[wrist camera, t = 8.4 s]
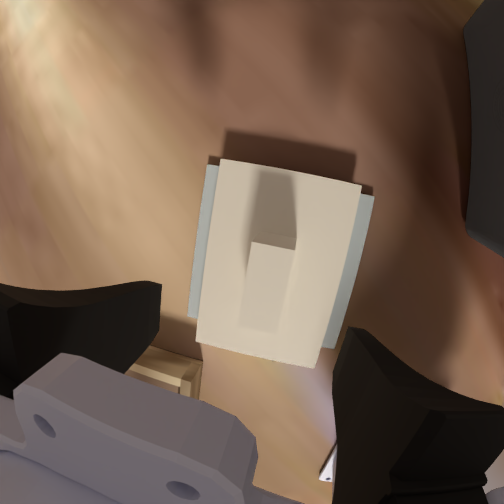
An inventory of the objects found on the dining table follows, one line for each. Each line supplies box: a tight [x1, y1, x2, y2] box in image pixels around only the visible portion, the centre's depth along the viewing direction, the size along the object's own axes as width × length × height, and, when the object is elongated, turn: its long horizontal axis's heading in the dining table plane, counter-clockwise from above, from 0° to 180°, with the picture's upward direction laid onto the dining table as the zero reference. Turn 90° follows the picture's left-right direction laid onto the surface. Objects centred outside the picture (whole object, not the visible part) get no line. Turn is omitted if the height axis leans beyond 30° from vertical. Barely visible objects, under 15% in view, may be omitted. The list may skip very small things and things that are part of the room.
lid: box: [196, 159, 362, 368], centre depth 19 cm, size 9×13×5 cm
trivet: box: [187, 164, 375, 349], centre depth 21 cm, size 11×11×1 cm
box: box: [124, 345, 203, 400], centre depth 25 cm, size 8×12×3 cm, turn 171°
